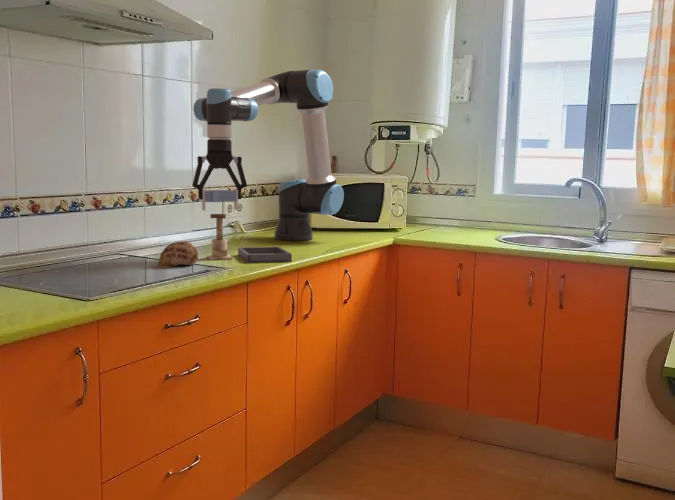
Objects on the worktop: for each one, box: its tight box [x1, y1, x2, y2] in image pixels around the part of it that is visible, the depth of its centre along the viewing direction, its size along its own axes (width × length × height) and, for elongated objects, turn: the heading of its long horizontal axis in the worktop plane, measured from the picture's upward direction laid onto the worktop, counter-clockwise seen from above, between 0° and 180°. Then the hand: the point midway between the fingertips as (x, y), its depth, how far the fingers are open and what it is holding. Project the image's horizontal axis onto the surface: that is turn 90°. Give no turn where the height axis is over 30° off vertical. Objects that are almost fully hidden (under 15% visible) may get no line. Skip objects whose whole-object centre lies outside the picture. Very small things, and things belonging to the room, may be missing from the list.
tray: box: [237, 246, 293, 264], centre depth 234 cm, size 14×17×2 cm
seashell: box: [157, 240, 199, 268], centre depth 217 cm, size 10×9×10 cm
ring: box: [205, 189, 237, 203], centre depth 229 cm, size 10×8×3 cm
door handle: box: [206, 213, 233, 261], centre depth 232 cm, size 7×7×14 cm
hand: (220, 209), depth 231 cm, fingers closed on ring, 10 cm apart
